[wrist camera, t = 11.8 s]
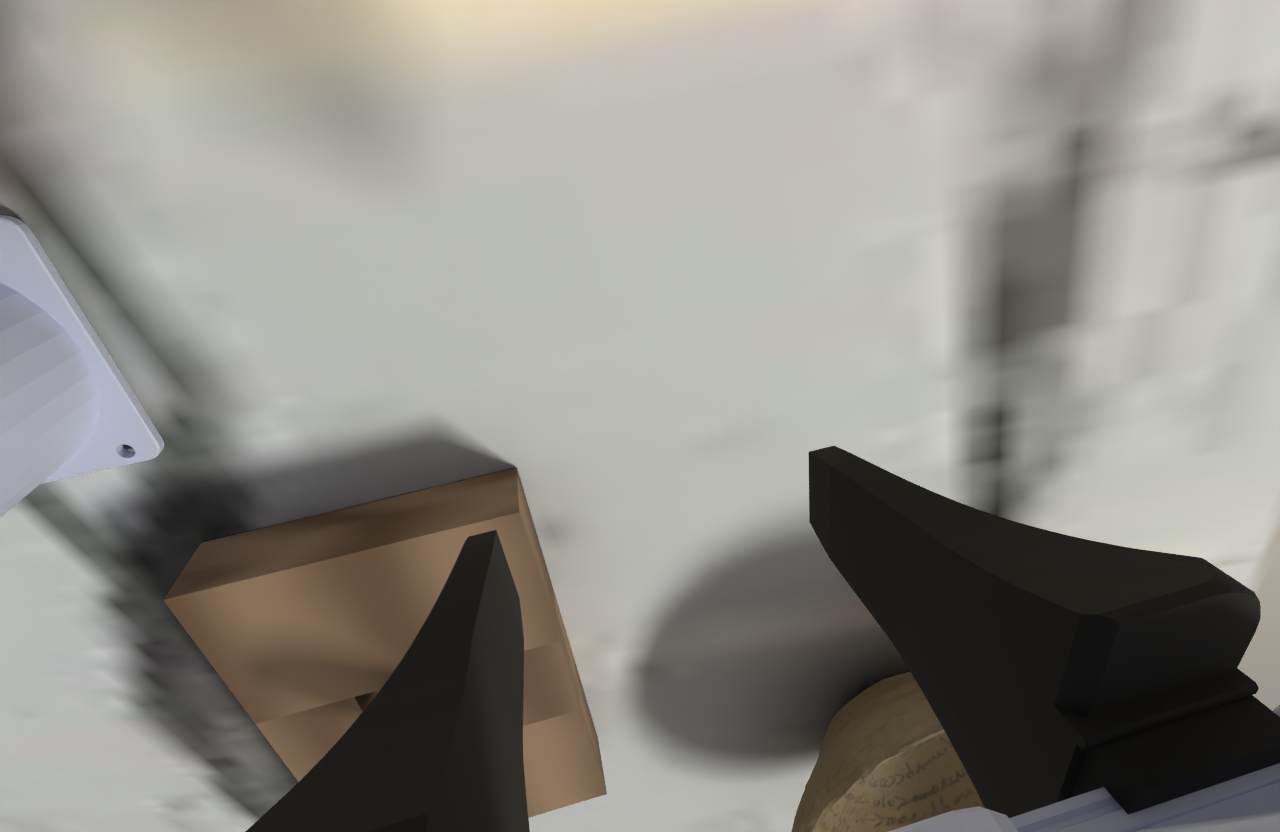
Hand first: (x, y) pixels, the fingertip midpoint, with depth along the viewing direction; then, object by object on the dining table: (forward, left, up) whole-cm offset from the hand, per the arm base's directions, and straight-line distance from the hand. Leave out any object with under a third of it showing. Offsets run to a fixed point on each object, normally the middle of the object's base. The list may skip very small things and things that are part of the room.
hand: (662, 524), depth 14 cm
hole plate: (-10, -13, -10) cm, 19 cm away
